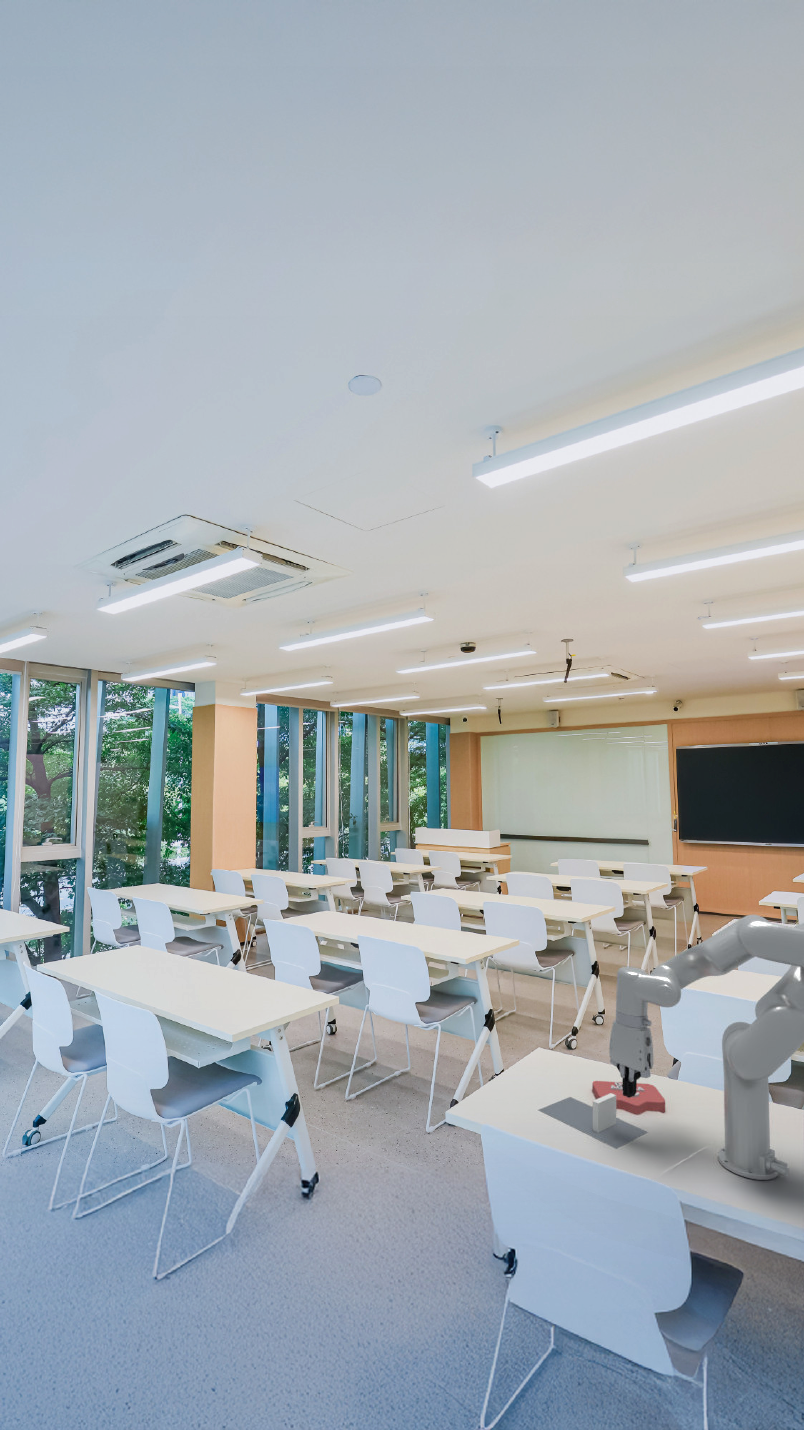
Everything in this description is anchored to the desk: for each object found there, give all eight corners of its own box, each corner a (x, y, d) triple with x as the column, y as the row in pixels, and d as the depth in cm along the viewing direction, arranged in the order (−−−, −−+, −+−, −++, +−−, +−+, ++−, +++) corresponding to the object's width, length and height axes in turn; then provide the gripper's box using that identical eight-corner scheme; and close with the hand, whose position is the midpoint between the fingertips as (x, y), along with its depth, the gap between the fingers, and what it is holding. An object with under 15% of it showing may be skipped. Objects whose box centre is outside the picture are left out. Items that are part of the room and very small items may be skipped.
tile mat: (647, 1134, 171) (647, 1132, 171) (616, 1150, 162) (616, 1148, 162) (570, 1098, 189) (570, 1096, 189) (537, 1111, 181) (538, 1110, 181)
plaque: (603, 1101, 181) (590, 1078, 196) (603, 1116, 180) (590, 1092, 195) (670, 1105, 180) (653, 1081, 195) (671, 1120, 179) (653, 1095, 194)
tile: (616, 1123, 175) (616, 1095, 175) (598, 1132, 170) (598, 1103, 170) (610, 1121, 176) (610, 1093, 177) (592, 1129, 171) (592, 1100, 172)
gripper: (666, 1026, 166) (664, 1104, 164) (614, 1008, 178) (611, 1080, 176) (650, 1031, 162) (648, 1111, 160) (597, 1012, 173) (594, 1087, 171)
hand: (629, 1095), depth 168 cm, fingers closed
